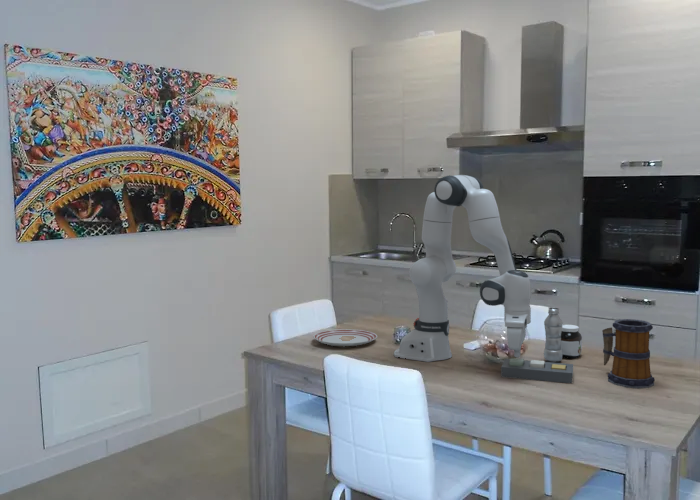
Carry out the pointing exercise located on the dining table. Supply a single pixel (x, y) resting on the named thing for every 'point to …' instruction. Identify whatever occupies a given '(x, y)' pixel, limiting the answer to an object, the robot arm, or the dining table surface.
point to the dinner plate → (333, 335)
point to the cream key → (537, 364)
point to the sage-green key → (516, 362)
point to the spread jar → (571, 341)
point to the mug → (629, 353)
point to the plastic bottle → (553, 336)
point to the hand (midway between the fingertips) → (517, 356)
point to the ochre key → (559, 367)
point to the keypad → (538, 372)
